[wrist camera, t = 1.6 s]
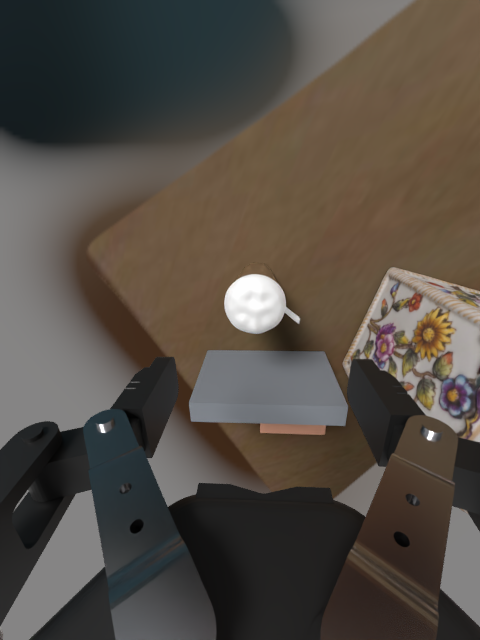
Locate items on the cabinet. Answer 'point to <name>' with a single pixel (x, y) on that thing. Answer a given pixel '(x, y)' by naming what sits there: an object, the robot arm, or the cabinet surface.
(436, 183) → the cabinet surface
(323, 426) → the mat
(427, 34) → the cabinet surface
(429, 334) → the decorative jar
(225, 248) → the cabinet surface
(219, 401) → the screen
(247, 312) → the milkshake
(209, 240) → the cabinet surface
